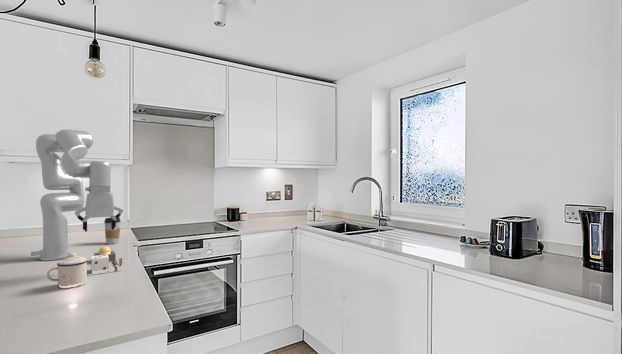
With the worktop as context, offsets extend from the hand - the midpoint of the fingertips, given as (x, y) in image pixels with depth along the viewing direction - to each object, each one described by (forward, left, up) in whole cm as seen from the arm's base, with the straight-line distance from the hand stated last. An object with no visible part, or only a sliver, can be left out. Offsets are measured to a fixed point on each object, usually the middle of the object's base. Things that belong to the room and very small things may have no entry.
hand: (99, 230), depth 140 cm
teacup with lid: (-11, -16, -17) cm, 26 cm away
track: (0, +4, -17) cm, 18 cm away
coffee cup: (+10, +59, -17) cm, 63 cm away
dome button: (+3, +17, -17) cm, 24 cm away
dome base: (+3, +17, -17) cm, 24 cm away
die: (0, 0, -17) cm, 17 cm away
